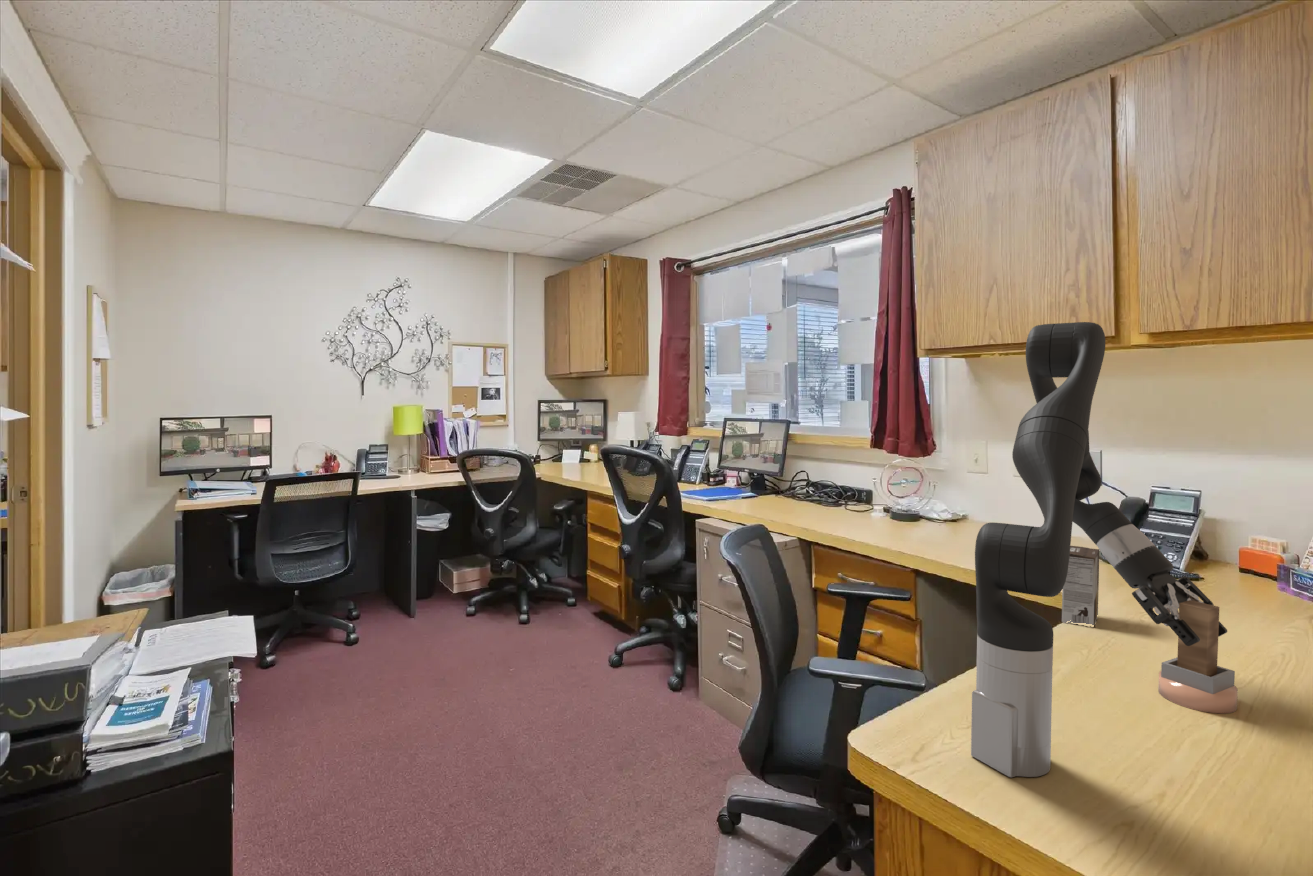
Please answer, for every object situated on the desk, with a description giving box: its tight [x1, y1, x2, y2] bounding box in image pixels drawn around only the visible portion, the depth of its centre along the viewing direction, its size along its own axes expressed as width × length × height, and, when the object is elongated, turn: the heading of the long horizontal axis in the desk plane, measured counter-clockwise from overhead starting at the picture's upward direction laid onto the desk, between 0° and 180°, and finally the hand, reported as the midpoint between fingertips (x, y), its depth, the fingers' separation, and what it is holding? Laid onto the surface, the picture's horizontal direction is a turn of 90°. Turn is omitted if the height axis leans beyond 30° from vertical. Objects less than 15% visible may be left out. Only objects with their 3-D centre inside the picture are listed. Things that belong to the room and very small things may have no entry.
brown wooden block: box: [1176, 600, 1220, 677], centre depth 105 cm, size 4×4×13 cm
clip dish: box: [1157, 657, 1239, 714], centre depth 105 cm, size 10×10×6 cm
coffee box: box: [1061, 545, 1100, 626], centre depth 143 cm, size 9×6×16 cm
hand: (1208, 639), depth 104 cm, fingers open, 8 cm apart
